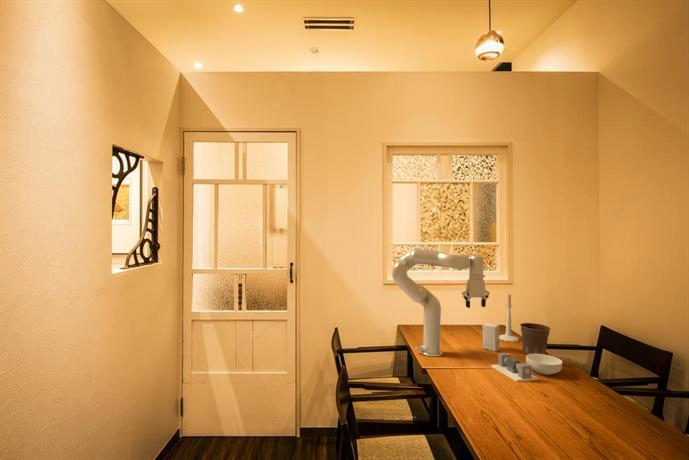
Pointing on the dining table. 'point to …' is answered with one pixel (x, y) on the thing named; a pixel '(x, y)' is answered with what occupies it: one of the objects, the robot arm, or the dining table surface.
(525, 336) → the plant pot
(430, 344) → the robot arm
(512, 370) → the joint block
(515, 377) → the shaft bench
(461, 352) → the dining table surface
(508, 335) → the candlestick
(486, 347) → the skincare box
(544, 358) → the cereal bowl
